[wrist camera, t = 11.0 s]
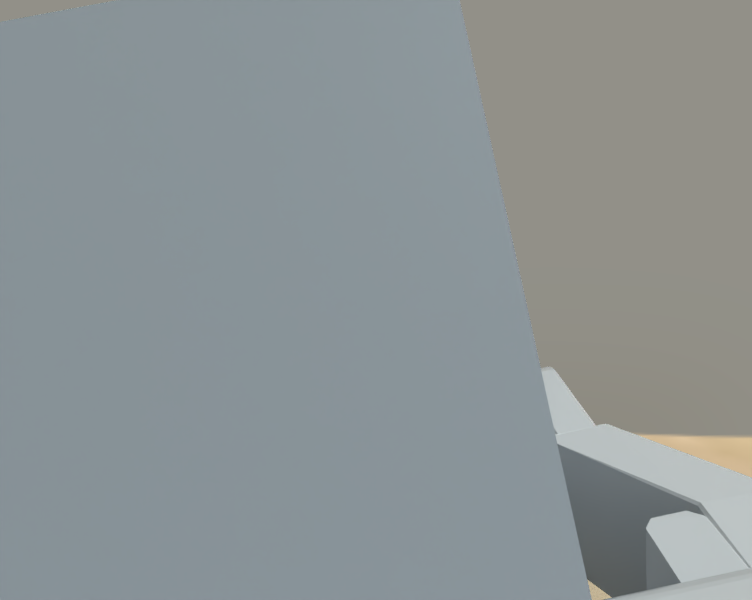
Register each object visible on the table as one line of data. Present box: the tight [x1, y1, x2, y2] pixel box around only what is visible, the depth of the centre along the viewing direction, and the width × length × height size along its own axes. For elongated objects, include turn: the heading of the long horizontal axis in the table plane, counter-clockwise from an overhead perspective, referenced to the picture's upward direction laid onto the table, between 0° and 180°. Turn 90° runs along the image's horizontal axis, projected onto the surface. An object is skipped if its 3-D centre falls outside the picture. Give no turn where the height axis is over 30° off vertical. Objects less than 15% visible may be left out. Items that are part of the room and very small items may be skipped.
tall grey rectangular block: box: [0, 0, 592, 600], centre depth 12 cm, size 4×16×12 cm, turn 6°
